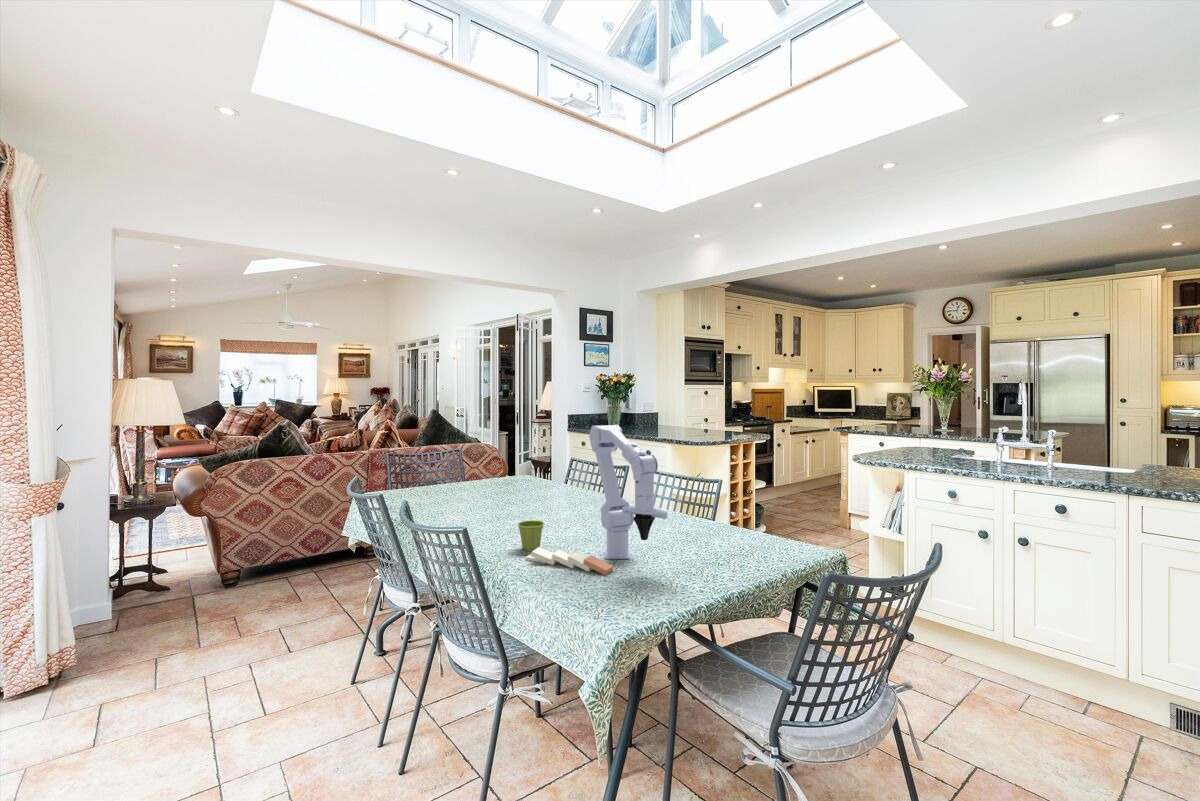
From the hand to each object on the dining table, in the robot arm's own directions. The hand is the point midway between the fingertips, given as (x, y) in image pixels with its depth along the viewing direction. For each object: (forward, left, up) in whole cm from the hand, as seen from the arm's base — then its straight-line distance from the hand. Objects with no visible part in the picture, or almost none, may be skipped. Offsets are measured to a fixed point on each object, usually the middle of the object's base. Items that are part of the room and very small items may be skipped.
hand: (644, 539), depth 165 cm
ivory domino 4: (0, -16, -9) cm, 18 cm away
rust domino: (+3, -11, -9) cm, 14 cm away
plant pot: (-22, -38, -10) cm, 45 cm away
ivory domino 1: (-8, -30, -9) cm, 32 cm away
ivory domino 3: (-3, -21, -9) cm, 23 cm away
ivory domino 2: (-6, -28, -8) cm, 29 cm away
